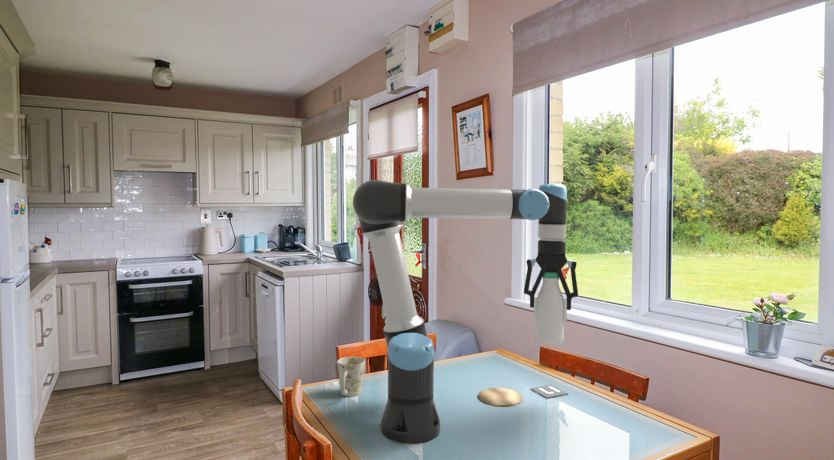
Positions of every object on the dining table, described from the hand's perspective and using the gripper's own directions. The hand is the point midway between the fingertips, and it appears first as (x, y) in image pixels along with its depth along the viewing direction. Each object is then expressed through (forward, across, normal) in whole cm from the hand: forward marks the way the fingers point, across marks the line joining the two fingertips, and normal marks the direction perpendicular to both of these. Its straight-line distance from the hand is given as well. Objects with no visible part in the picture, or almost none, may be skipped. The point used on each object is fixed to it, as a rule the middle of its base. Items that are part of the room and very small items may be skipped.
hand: (550, 319), depth 140 cm
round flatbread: (+25, +14, -3) cm, 29 cm away
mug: (+25, +58, +9) cm, 64 cm away
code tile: (+25, 0, -12) cm, 28 cm away
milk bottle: (+6, 0, 0) cm, 6 cm away
